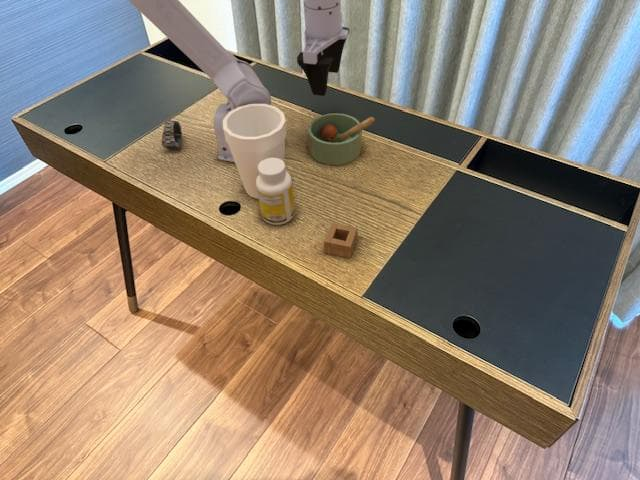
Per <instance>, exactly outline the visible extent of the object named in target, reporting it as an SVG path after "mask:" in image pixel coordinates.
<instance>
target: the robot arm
mask: <svg viewBox="0 0 640 480" xmlns="http://www.w3.org/2000/svg"><path fill="white" fill-rule="evenodd" d="M128 2H129V3H131V5H133V6H134V8H135V9H137V10H138V11H139V12H140V14H142V15H143V16H144V17H145V18H146V19H147V20H148V21H149V22H151V23H152V24H153V25H154V26H155V27H156V28H157V29H158V30H159V31H160V32H161V33H162V34H163V35H164V36H165V37H167V39H168V40H169V41H171V42H172V44H174V45H175V46H176V47H177V48H178V49H179V50H180V51H181V52H182V53H183V54H184V55H185V56H187V58H188V59H190V60H191V61H192V62H193V63H194V64H195V65H196V66H197V67H198V69H200V70H201V71H202V72H203V73H204V74H206V76H207V77H209V79H211V81H212V82H213V83H214V84H215V86H216V88H218V90H219V91H220V92H221V93H222V94H223V96H224V97H225V98H226V99H227V101H226V103H220V104H219V105H218V106H217V107H216V110H215V111H214V116H213V131H214V135H215V139H216V143H217V148H218V152H219V154H218V156H217V159H218V160H219V161H223V162H230V163H235V161H234V158H233V156H232V153H231V150H230V147H229V145H228V143H227V142H226V140H225V135H224V130H223V119H224V118H225V117H226V115H227V114H228V113H229V112H231V111H232V110H234V109H236V108H238V107H240V106H244V105H249V104H267V105H271V106H272V97H271V94H270V92H269V90H268V89H267V88H266V87H265V85H264V84H263V83H262V81H261V80H260V78H259V76H258V75H257V73H256V71H255V69H254V67H253V66H252V65H251V64H250V63H248V62H247V61H244V60H241V59H238V58H237V57H236V56H235V55H234V54H233V53H232V52H230V51H228V50H227V49H226V48H225V47H224V46H223V45H222V43H220V42H219V41H218V40H217V39H216V38H215V37H214V36H213V35H212V33H210V31H209V30H207V28H206V27H205V26H204V25H203V24H202V23H201V22H200V21H199V20H198V19H197V18H196V17H195V16H194V15H193V14H192V13H191V12H190V11H189V9H187V7H186V6H185V5H184V4H183V3H182V2H181V1H180V0H128ZM341 2H342V1H341V0H302V3H303V13H304V14H303V15H304V25H305V27H304V28H305V29H304V48H303V50H302V51H300V52H299V54H298V55H297V56H296V61H297V65H298V66H299V67H300V68H301V70H302V72H303V73H304V74H305V77H306V79H307V81H308V84H309V87H310V90H311V92H312V95H313V96H320V97H325V96H326V93H327V89H328V77H329V73H335V74H338V73H339V71H340V68H341V63H342V57H343V51H344V47H345V44H346V42H347V39H348V37H349V35H350V33H351V32H350V31H351V30H350V29H349V27H344V26H343V11H342V7H341V5H342V4H341Z"/></svg>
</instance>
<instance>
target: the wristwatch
mask: <svg viewBox="0 0 640 480" xmlns="http://www.w3.org/2000/svg"><path fill="white" fill-rule="evenodd" d="M182 138H183V132H182V125H181V124H180V122H179V121H178V120H165V122H164V126H163V131H162V134H161V145H162V147H163V148H165V149H171V150H173V149H180V148H181V146H182Z"/></svg>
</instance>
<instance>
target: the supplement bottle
mask: <svg viewBox="0 0 640 480" xmlns="http://www.w3.org/2000/svg"><path fill="white" fill-rule="evenodd" d="M285 163H286V162H285V161H284V162H283V161H282V160H281V159H279V158H267V159H265V160H263V161H261V162H260V163H259V165H258V173H259V175H258V177H257V179H256V188H257V193H258V199H257V200H258V204H259V208H260V209H259V210H260V214H261V217H262V219H263V220H264V222H265V223H267V224H269V225H273V226H281V225H284V224H287V223H289V222H290V221H291V220H293V218H294V216H295V215H296V207H295V206H296V205H295V199H294V188H293V181H292V180H293V179H292V177H291V175H290V173H289V172H287V168H286V164H285Z"/></svg>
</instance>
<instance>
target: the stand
mask: <svg viewBox="0 0 640 480" xmlns="http://www.w3.org/2000/svg"><path fill="white" fill-rule="evenodd" d="M358 230H359V228H358V227H356V226H351V225H346V224H341V223H337V222H331V223H330V226H329V228H328V230H327V233H326V236H325V238H324V241H323V252H324V253H325V254H328V255H334V256H338V257H343V258H347V259H351V258H352V255H353V251H354V249H355V247H356V244H357V241H358Z"/></svg>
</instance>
